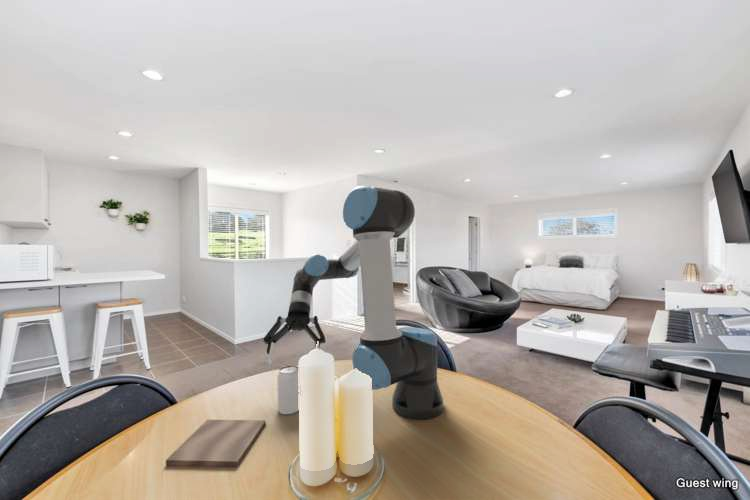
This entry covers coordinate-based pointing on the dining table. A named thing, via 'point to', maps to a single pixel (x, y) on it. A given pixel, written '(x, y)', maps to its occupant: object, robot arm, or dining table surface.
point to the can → (288, 390)
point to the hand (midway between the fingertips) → (291, 363)
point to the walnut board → (217, 443)
